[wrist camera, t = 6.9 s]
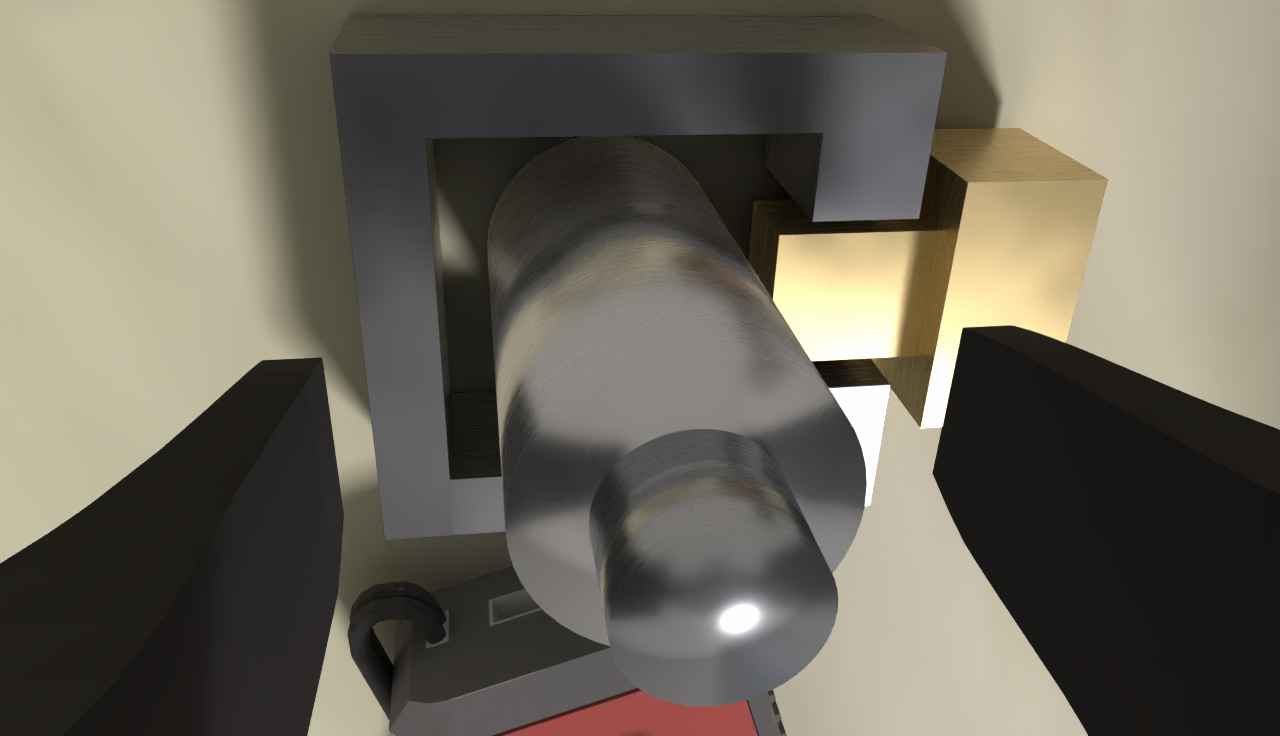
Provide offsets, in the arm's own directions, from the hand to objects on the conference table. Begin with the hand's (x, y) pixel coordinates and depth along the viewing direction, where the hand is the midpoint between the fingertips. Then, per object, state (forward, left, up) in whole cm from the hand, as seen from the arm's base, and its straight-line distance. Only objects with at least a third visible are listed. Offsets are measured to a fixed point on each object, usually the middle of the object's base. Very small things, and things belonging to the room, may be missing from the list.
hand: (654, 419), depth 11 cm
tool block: (0, 0, -5) cm, 5 cm away
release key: (-4, 0, -5) cm, 7 cm away
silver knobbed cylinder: (0, 0, -5) cm, 5 cm away
